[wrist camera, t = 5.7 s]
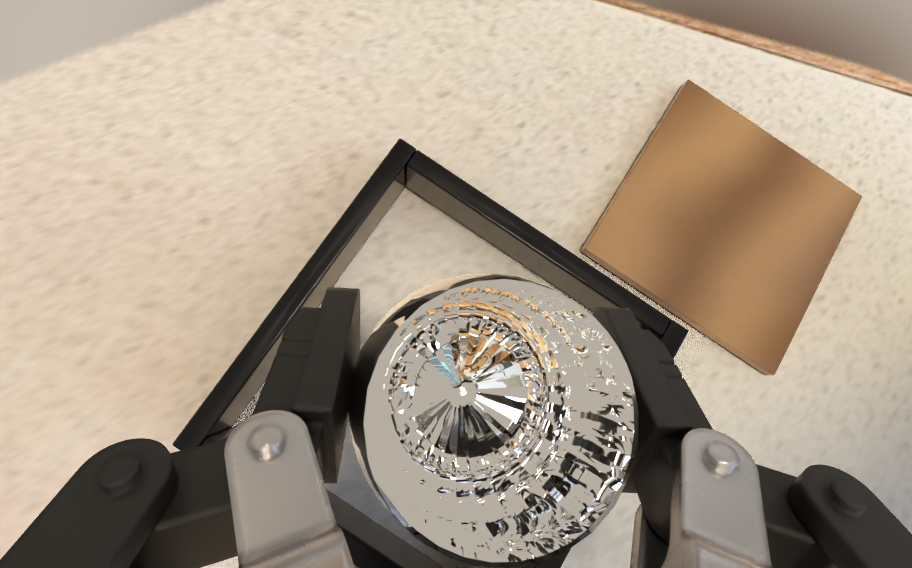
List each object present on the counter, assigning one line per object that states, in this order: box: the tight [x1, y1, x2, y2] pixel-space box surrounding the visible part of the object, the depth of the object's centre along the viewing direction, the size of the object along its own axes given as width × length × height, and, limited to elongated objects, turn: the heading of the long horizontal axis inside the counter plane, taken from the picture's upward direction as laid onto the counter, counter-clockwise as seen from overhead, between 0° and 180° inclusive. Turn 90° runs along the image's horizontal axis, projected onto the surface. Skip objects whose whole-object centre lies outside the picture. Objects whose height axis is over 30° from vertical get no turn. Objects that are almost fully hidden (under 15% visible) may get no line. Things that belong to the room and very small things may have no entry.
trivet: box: [581, 80, 862, 375], centre depth 22 cm, size 10×10×1 cm
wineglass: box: [348, 273, 638, 568], centre depth 14 cm, size 6×6×12 cm
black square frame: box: [173, 139, 688, 568], centre depth 18 cm, size 14×14×2 cm
